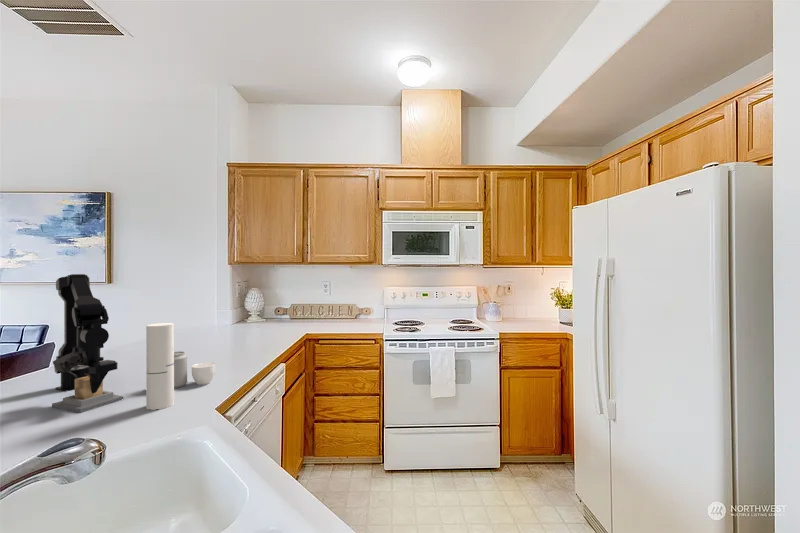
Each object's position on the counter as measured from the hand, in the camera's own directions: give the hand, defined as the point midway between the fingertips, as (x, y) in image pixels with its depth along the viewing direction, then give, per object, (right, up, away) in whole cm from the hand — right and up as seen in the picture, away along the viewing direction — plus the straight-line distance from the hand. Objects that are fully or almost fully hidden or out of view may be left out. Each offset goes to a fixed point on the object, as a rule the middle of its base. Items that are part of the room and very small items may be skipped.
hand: (88, 391), depth 118 cm
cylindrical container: (+25, -3, -3) cm, 25 cm away
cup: (+25, -4, +20) cm, 32 cm away
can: (+17, -4, +17) cm, 24 cm away
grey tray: (0, -4, 0) cm, 4 cm away
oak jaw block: (0, -2, 0) cm, 2 cm away
